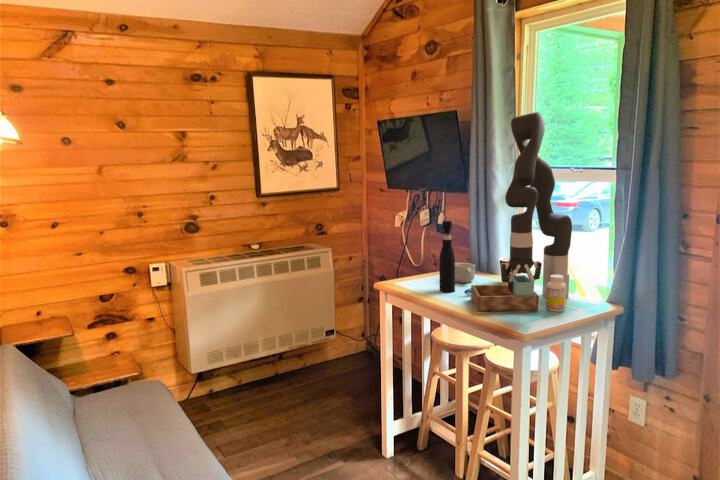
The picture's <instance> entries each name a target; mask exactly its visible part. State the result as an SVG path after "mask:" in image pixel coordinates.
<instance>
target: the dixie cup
mask: <svg viewBox="0 0 720 480" xmlns="http://www.w3.org/2000/svg"><path fill="white" fill-rule="evenodd" d="M498 260H499V267H500V269H501V263H508V262H509V260H510V256H509V257H507V256H505V257H504V256H503V257H499V259H498ZM511 269H512V268H511V267H510V266H508V268H507V269H506V272H507V277H508V276H509V274H510V271H511ZM500 278H501V282H502V285H505V284H508V281H505V280H504V279H503V278H502V271H501V270H500Z"/></svg>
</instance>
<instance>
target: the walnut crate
mask: <svg viewBox="0 0 720 480" xmlns="http://www.w3.org/2000/svg"><path fill="white" fill-rule="evenodd" d="M470 300H471V302H472V304H473V306H474V305H475V306H474V308H475V307H476V308H475V310H476V309H477V310H476V311H477V313H478V312H485V313H538V312H539V310H540V309H539V305H540V302H539V301H540V296H539V294H537V293H536V291H534V294H533V297H515V296H514V295H513V293H512V292H510V291H509V289H508V284H471V286H470Z"/></svg>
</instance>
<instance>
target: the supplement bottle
mask: <svg viewBox="0 0 720 480" xmlns="http://www.w3.org/2000/svg"><path fill="white" fill-rule="evenodd" d="M550 280H551V281H550V282H548V284H547V297H546V309H547V310H548V311H550V312H557V313H558V312H559V313H560V312H564V311H565V310H566V301H567V299H566V298H567V297H566V284H565V283H564V282H563V276H562V275H550Z"/></svg>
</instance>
